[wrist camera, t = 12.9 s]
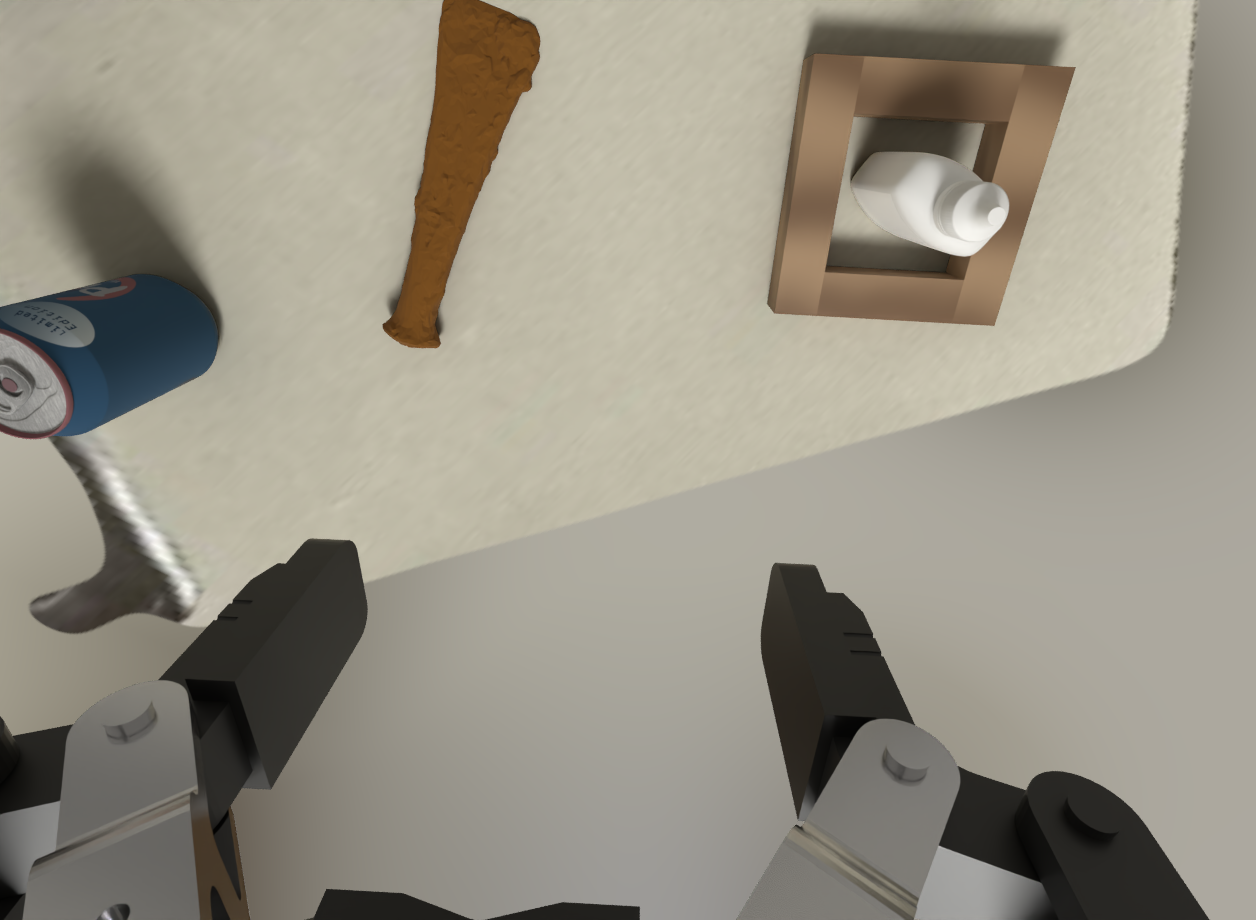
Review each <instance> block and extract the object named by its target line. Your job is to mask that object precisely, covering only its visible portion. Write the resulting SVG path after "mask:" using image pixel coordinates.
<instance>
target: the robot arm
mask: <svg viewBox="0 0 1256 920" xmlns="http://www.w3.org/2000/svg"><path fill="white" fill-rule="evenodd" d="M367 610H368V609H367V600H366V595H365V590H364V584H363V579H362V573H361V568H360V563H359V558H358V552H357V548H356V546H355V544H354V543H353V542H352V541H350V540H331V539H308V540H307V541H306V542H304V543H303V545H302V546H301V547H300V548H299V549H298V550H297V551H296V553H295V554H294V555H293V556H292V557H291V558H290V559H289V561H288V562H287V563H286V564H281V563H278V564H276V565H274V566H273V567H271V568H270V569H268V570H266V571H265V572H263V573H261V574H260V575H258V576H257V577H255V578H253V579H252V580H251V581H250V582H249V583H248V584H247V585H246V586H245V587H244V588H243V589H242V590H241V591H240V592H239V593H238V595H237V596H236V597H235V598H234V599H233V603H232V604H228V605H227V606H226V607H225V609H224V610H223V611H222V612H221V613H220V614H219V615H218V619H217V620H213V621H212V623H211V624H210V625H209V626H208V627H207V628H206V629H205V630H204V631H203V633H201V634H200V635H199V637H198V638H197V639H196V640H195V641H194V642H193V643H192V644H191V645H190V646H189V647H188V648H187V650H186V651H185V652H184V653H183V654H182V655H181V656H180V657H179V658H178V659H177V660H176V661H175V662H174V663H173V665H172V666H171V667H170V668H169V669H168V670H167V671H166V672H165V673H164V674H163V676H161V678H160V679H159V680H157V681H148V682H143V683H139V684H135V685H132V686H129V687H126V688H124V689H121V690H119V691H117V692H115V693H113V694H110V695H108V696H107V697H105V698H103V699H102V700H100V701H99V702H97V703H96V704H94V705H93V706H91V707H90V708H89V709H88V710H87V711H85V712H84V713H83V714H82V715H81V716H80V717H79V718H78V719H77V721H76V722H75V723H74V724H73V725H67V726H62V727H57V728H52V729H47V730H42V731H37V732H31V733H26V734H20V735H16V736H12V734H11V732H10V731H9V729H8V727H7V726H6V724H5V722H4V721H3V719H2V718H1V717H0V920H251V919H250V914H249V908H248V902H247V895H246V889H245V882H244V876H243V869H242V863H241V856H240V850H239V844H238V837H237V831H236V824H235V818H234V814H233V811H232V808H231V804H232V803H233V801H234V799H235V798H236V796H237V795H238V793H239V791H240V790H241V788H252V789H272V787H273V785H274V783H275V782H276V780H277V778H278V777H279V775H280V773H281V772H282V770H283V768H284V767H285V765H286V763H287V761H288V760H289V758H290V756H291V755H292V753H293V751H294V749H295V748H296V746H297V745H298V743H299V741H300V740H301V738H302V736H303V734H304V733H305V731H306V729H307V728H308V726H309V724H310V723H311V721H312V719H313V718H314V716H315V714H316V712H317V711H318V709H319V708H320V706H321V704H322V703H323V701H324V699H325V697H326V696H327V694H328V692H329V691H330V689H331V687H332V686H333V684H334V682H335V680H336V679H337V677H338V675H339V674H340V672H341V670H342V669H343V667H344V665H345V664H346V662H347V660H348V659H349V657H350V655H351V654H352V652H353V650H354V649H355V647H356V645H357V643H358V642H359V640H360V638H361V636H362V634H363V632H364V628H365V625H366V620H367ZM761 653H762V660H763V665H764V669H765V674H766V678H767V683H768V687H769V692H770V696H771V701H772V705H773V710H774V714H775V719H776V723H777V728H778V733H779V737H780V742H781V746H782V751H783V755H784V760H785V764H786V769H787V773H788V778H789V782H790V787H791V791H792V796H793V800H794V805H795V810H796V814H797V819H798V821H805V822H804V824H803V825H802V826H801V827H799V826H798V825H795V826H794V827H793V828H792V829H791V830H790V832H789V833H788V834H787V836H786V837H785V839H784V841H783V842H782V844H781V846H780V847H779V849H778V851H777V852H776V854H775V855H774V857H773V859H772V861H771V862H770V864H769V866H768V867H767V869H766V871H765V872H764V874H763V876H762V877H761V879H760V881H759V882H758V884H757V886H756V887H755V889H754V891H753V892H752V894H751V896H750V897H749V899H748V901H747V902H746V904H745V906H744V907H743V909H742V911H741V912H740V914H739V916H738V918H737V919H736V920H914V918H917V919H919V920H1209V919H1208V917H1207V916H1206V914H1205V912H1204V911H1203V910H1202V908H1201V907H1200V905H1199V904H1198V902H1197V901H1196V899H1195V898H1194V896H1193V895H1192V893H1191V892H1190V890H1189V889H1188V887H1187V886H1186V884H1185V883H1184V881H1183V880H1182V879H1181V877H1180V875H1179V874H1178V872H1177V871H1176V869H1175V868H1174V867H1173V865H1172V864H1171V862H1170V861H1169V859H1168V858H1167V856H1166V855H1165V853H1164V852H1163V850H1162V849H1161V847H1160V846H1159V844H1158V843H1157V841H1156V840H1155V838H1154V837H1153V835H1152V834H1151V832H1150V831H1149V829H1148V828H1147V827H1146V825H1145V824H1144V822H1143V821H1142V820H1141V819H1140V817H1139V816H1138V815H1137V814H1136V813H1135V812H1134V811H1133V810H1132V808H1131V807H1129V806H1128V805H1127V804H1126V803H1125V802H1124V801H1123V800H1121V799H1120V798H1119V797H1117V796H1116V795H1115V794H1113V793H1112V792H1111V791H1109V790H1107V789H1106V788H1104V787H1103V786H1101V785H1099V784H1097V783H1095V782H1093V781H1091V780H1089V779H1086V778H1084V777H1081V776H1078V775H1075V774H1072V773H1067V772H1060V771H1050V772H1044V773H1041V774H1039V775H1037V776H1036V777H1034V778H1033V779H1032V781H1031V782H1030V784H1029V786H1028V788H1027V790H1023V789H1020V788H1017V787H1014V786H1010V785H1008V784H1004V783H1002V782H998V781H995V780H992V779H989V778H986V777H983V776H980V775H977V774H974V773H972V772H969V771H967V770H965V769H963V768H961V767H959V766H957V764H956V762H955V760H954V758H953V757H952V755H951V754H950V752H949V751H948V750H947V749H946V748H945V746H944V745H943V744H942V743H941V742H940V741H938V740H937V739H936V738H935V737H934V736H932V735H931V734H930V733H928V732H926V731H925V730H923V729H921V728H919V727H917V726H915V724H914V722H913V720H912V717H911V715H910V713H909V711H908V709H907V707H906V704H905V702H904V700H903V698H902V696H901V694H900V691H899V689H898V687H897V685H896V683H895V681H894V678H893V676H892V674H891V672H890V670H889V668H888V665H887V663H886V661H885V659H884V657H882V656H881V651H880V648H879V646H878V644H877V642H876V639H875V638H873V633H872V631H871V629H870V627H869V624H868V622H867V620H866V618H865V616H864V613H863V612H862V611H861V610H860V609H859V608H858V607H857V606H856V605H855V604H854V603H853V602H852V601H851V600H850V599H849V598H848V597H847V596H845V594H844V593H828V592H826V589H825V587H824V584H823V582H822V579H821V577H820V575H819V572H818V570H817V568H816V566H815V565H804V564H786V563H775V564H774V565H773V567H772V570H771V575H770V581H769V586H768V593H767V598H766V603H765V609H764V615H763V621H762V627H761ZM639 917H640V907H635V906H617V905H599V904H583V903H564V902H562V903H558V904H554V905H548V906H544V907H540V908H535V909H531V910H527V911H522V912H518V913H513V914H509V915H505V916H501V917H496V918H491V919H487V920H640V918H639ZM306 920H473V919H469V918H466V917H464V916H461V915H458V914H456V913H453V912H451V911H448V910H445V909H443V908H440V907H438V906H435V905H432V904H430V903H427V902H424V901H422V900H419V899H416V898H414V897H411V896H409V895H406V894H403V893H388V892H371V891H353V890H333V889H326V891H325V893H324V896H323V898H322V900H321V903H320V905H319V907H318V910H317V912H316V914H315V916H314V918H310V919H306Z"/></svg>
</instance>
